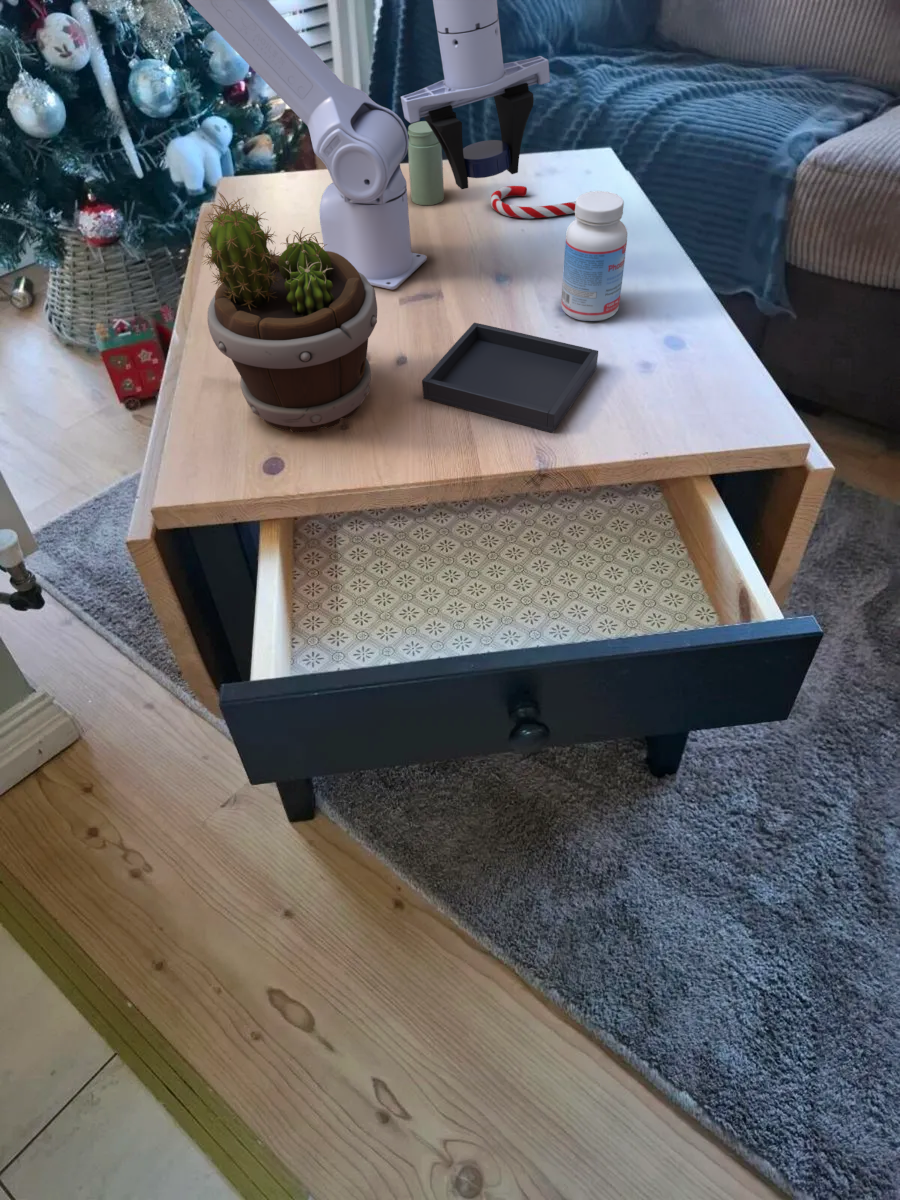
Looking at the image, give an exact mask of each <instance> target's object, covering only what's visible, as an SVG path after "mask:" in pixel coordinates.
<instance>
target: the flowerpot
mask: <svg viewBox="0 0 900 1200" xmlns="http://www.w3.org/2000/svg"><path fill="white" fill-rule="evenodd" d="M218 195H219V197H220V198H221V200H222V201H221V200H220V199H219V198H218V197H217V200H218V201H219V202H218V203H219V204H220V205H218V204H213V203H211V206H212V208H213V209H214V210H212V212H214V211H215V213H207V215H208V217H207V216H205V218H207V219H208V220H206V221H204V223H208V224H204V227H205V229H206V231H203V230H200V233H201V235H202V237H201V236H200V237H199V238H198V237H196V239H197V240H202V241H203V240H205V241H203V242H202V244H201V246H200V247H201V248H204V246H205V244H208V245H207V246H206V249H208V250H207V253H205V254H204V255H201V256H202V257H203V258H206V259H205V260H203V261H202V262H201V264H202V265H205V264H206V266H207V265H208V266H209V269H210V270H213V267H215V268H214V269H215V271H216V274H215V273H214V272H213V271H211V273H212V274H213V275H212V277H213V278H214V279H216V280H213V281H211V282H210V283H213V286H214V285H217V289H216V290H215V293H214V296H213V297H212V298H211V300H210V302H209V304H208V308H207V325H208V330H209V334H210V336H211V339H212V341H213V343H214V345H215V347H216V348H217V349H218V350H219V351H220V353H222V354H223V356H225V357H227V358H228V359H231V362H232V363H233V366H234V367H235V369H236V370H237V372H238V375H240V390H241V393H242V396H243V397H244V399H245V402H246V403H247V404H248V406H249V408H250V409H251V411H252V413H253V414H254V415H257V416H258V417H259V418H261V419H262V420H263V421H264V422H265V423H266V424H267V425H269V426H271V427H273V428H275V429H278V430H280V431H281V430H282V431H290V432H292V433H301V434H302V433H316V432H318V431H319V429H322V428H325V429H330V428H333V427H335V426H337V425H339V424H340V422H341V421H342V420H347V419H349V418H351V417H352V416H354V415H355V414H356V413H357V411H358V410H359V408H360V407H361V405H362V403H363V402H364V401H365V399H366V397H367V396H368V394H370V391H371V389H370V385H371V380H372V379H371V376H372V370H371V369H372V368H371V365H370V362H369V360H368V358H367V355H368V347H369V338H370V337H371V335H372V333H373V332H374V329H375V327H376V325H377V323H378V302H377V295H376V290H375V288H374V286H373V285H371V284H370V283H369V282H368V280H367V279H366V278H365V276H364V275H363V274H361V273H359V272H358V271H357V270H356V268H355V267H354V266H353V265H352V264H351V263H350V262H349V261H348V260H347V259H345V258H344V257H343V256H341V255H339V254H337V253H334V252H330V251H325V250H324V246H325V245H324V244H323V242H319V241H318V239H317V237H316V236H315V234H320V232H318V231H317V232H314V233H311V234H310V233H307V234H304V235H303V236H302V234H303V231H304V228H302V229H301V230H300V232H297V231H295V230H293V232H294V233H296V234H294V235H293V236H294V237H293V241H292V242H291V243H290V242H289V237H290V235H287V237H286V238H285V241H286V242H283V243H281V244H282V245H285V246H286V249H285V250H284V251H283V252H281V253H280V252H279V251H278V252H277V253H276V249H274V250H273V249H271V248H268V244H269V245H271V244H272V245H274V243H275V240H273V238H274V237H277V235H276V234H274V233H275V232H273V233H270V231H271V229H272V227H270V228H269V226H267V230H266V228H264V227H263V226H264V225H263V222H262V221H261V220H264V221H265V220H266V221H268V219H267V218H263V217H262V215H263V214H266V211H264V212H262V213H261V214H260V213H259V211H258V210H256V209H255V208H253V210H254V212H255V213H254V212H252V213H251V214H249V213H248V210H249V209H250V206H251V204H248V203H247V202H246V204H245V205H243V206H242V205H241V202H240V201H241V200H242V199H244V197H241V198H239V197H238V196H237V197H236V198H237V200H236V201H235V200H233V201H231V202H228V201H227V199H226V197H225V196H224V195H223V194H222V193H220V192H218ZM237 203H238V204H237ZM245 209H246V210H245ZM210 215H211V216H210ZM259 222H260V223H259ZM207 226H208V228H207ZM261 227H263V228H264V230H263V228H261ZM209 228H210V229H209ZM207 232H208V233H207ZM309 235H310V236H309ZM308 236H309V237H308ZM307 237H308V239H307ZM295 239H297V242H295ZM313 240H314V241H313ZM320 245H322V246H320ZM326 245H327V244H326ZM274 247H275V248H276V246H274ZM209 250H211V253H210V251H209ZM279 253H280V254H279ZM212 266H213V267H212Z"/></svg>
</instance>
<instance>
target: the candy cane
mask: <svg viewBox="0 0 900 1200" xmlns="http://www.w3.org/2000/svg"><path fill="white" fill-rule="evenodd" d="M527 193H528V188H527V187H526V186H523V185H508V186H503V187H500V188H498V189H497V190H495V191H493V193H492V194H491V195H490V199H489V202H490V203H489V204H490V207H491V208H492V209H493V210H494V211H495V212H497V213H499V214H500V215H503V216H505V217H510V218H517V219H541V218H543V219H544V218H551V217H552V218H553V217H557V216H558V217H559V216H566V215H570V214H575V204H576V200H575V201H569V202H563V203H555V204H549V205H539V206H518V205H513V204H512V205H511V204H508V203H506V202H504V201H502V200H503V199H505V198H507V197H526V195H527Z"/></svg>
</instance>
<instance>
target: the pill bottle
mask: <svg viewBox="0 0 900 1200" xmlns="http://www.w3.org/2000/svg"><path fill="white" fill-rule="evenodd" d="M575 201H576V204H575V213H574V217H575V219H574V220H573V221H572V222H570V224H569V225H568V227H567V228H566V231H565V232H566V233H565V241H564V242H565V243H564V254H563V255H564V256H563V268H562V269H563V271H562V284H561V300H560V301H561V303H560V305H561V309H562V311H563V312H564V313H565V314H566V315H567V316H568V317H570V318H572V319H575V320H578V321H585V322H586V321H587V322H588V321H589V322H598V321H605V320H607V319H610V318H612V317H613V316H614V315H615V314H616V313H617V312H618V310H619V308H620V303H621V297H622V296H621V294H622V286H623V278H624V270H625V263H626V262H625V261H626V253H627V243H628V229H627V227H626V225H625V224H624V223H623V221H621V220H622V218H623V215H624V204H625V202H624V199H623V197H622V196H620V195H619V194H617V193H614V192H610V191H605V190H604V191H602V190H594V191H588V192H584V193H582V194H580V195H578V196H577V198H576V199H575Z"/></svg>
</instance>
